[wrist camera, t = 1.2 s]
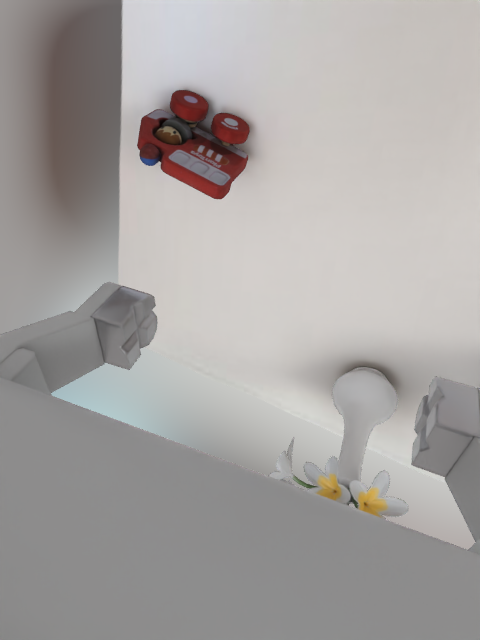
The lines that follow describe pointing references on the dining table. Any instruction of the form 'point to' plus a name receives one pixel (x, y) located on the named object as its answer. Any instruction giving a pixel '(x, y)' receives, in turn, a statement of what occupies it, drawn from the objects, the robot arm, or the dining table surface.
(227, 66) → the dining table surface
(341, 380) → the flower vase
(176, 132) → the toy fire truck
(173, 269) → the dining table surface
